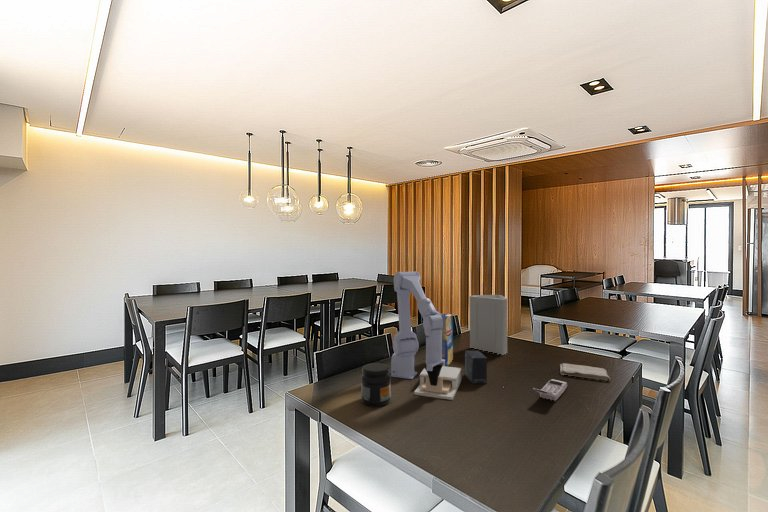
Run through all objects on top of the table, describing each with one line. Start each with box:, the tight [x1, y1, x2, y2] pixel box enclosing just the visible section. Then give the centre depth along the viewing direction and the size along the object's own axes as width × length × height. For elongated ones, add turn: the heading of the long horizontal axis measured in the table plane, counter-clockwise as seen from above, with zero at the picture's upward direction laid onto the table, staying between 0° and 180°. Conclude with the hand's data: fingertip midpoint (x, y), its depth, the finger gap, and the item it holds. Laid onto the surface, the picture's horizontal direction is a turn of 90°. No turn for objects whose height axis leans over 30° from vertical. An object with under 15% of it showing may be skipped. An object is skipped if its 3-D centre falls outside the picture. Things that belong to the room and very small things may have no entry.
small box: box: [464, 350, 488, 385], centre depth 146 cm, size 11×6×10 cm, turn 3°
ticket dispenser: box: [413, 366, 463, 401], centre depth 138 cm, size 14×20×5 cm
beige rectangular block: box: [421, 375, 452, 393], centre depth 137 cm, size 10×16×6 cm, turn 159°
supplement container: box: [360, 362, 392, 407], centre depth 126 cm, size 10×10×12 cm
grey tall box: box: [469, 294, 508, 356], centre depth 190 cm, size 19×15×28 cm
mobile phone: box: [532, 378, 568, 402], centre depth 129 cm, size 6×6×25 cm
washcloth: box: [559, 362, 611, 382], centre depth 151 cm, size 12×18×3 cm, turn 65°
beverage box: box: [441, 313, 454, 367], centre depth 167 cm, size 7×11×22 cm, turn 153°
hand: (434, 384), depth 130 cm, fingers closed, pressing on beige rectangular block
